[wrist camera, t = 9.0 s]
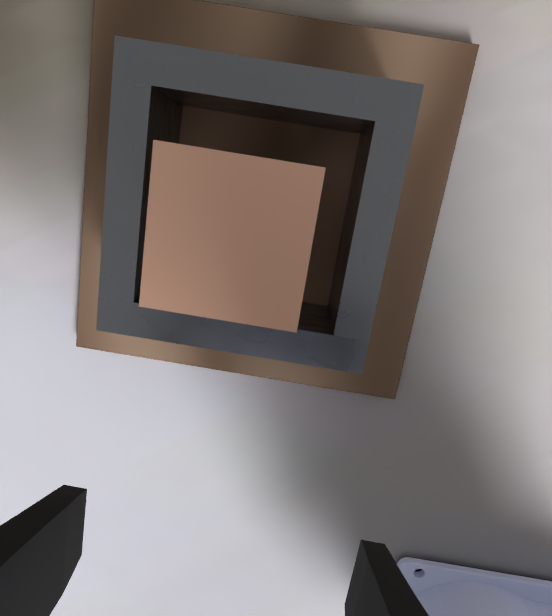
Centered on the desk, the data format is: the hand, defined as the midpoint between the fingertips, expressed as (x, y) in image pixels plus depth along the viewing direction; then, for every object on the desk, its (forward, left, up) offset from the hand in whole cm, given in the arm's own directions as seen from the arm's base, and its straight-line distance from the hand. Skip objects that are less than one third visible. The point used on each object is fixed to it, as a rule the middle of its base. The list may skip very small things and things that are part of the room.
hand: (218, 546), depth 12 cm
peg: (+1, -8, -9) cm, 12 cm away
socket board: (+1, -8, -10) cm, 13 cm away
